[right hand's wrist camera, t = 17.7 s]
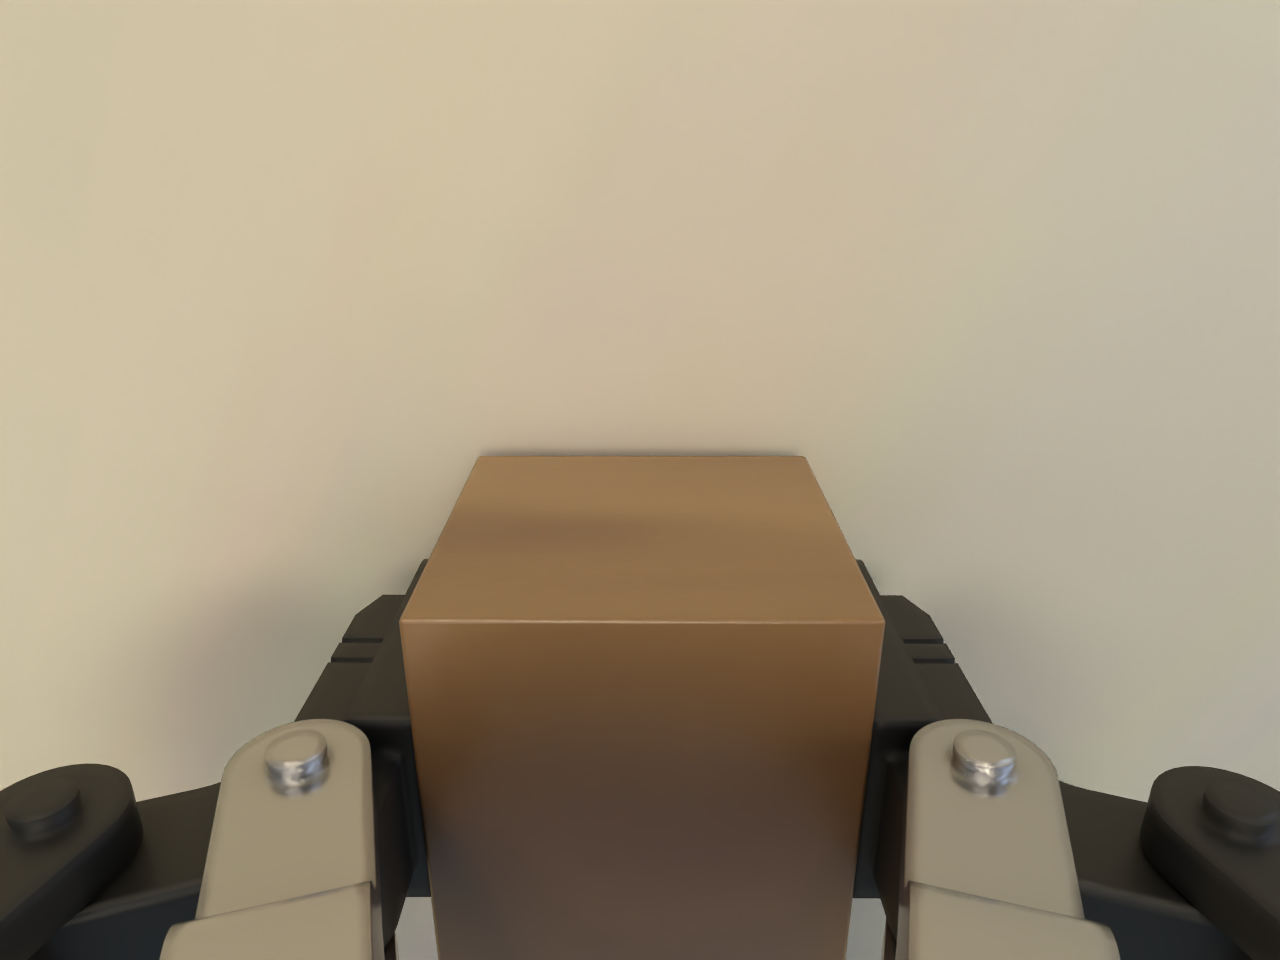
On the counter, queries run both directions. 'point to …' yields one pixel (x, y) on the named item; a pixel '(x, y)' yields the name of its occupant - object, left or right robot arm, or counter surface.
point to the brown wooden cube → (641, 711)
